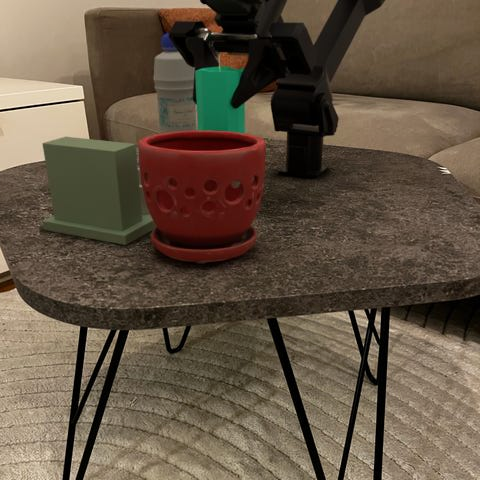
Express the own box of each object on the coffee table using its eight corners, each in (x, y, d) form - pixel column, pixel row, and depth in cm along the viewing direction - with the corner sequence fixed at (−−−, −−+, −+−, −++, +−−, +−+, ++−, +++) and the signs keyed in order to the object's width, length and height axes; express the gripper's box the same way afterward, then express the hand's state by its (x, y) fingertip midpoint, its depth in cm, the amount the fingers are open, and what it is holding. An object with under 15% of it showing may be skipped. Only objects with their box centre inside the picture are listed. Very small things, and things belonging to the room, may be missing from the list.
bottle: (168, 173, 94) (159, 34, 85) (153, 164, 100) (143, 32, 90) (206, 168, 97) (202, 32, 87) (190, 159, 102) (184, 31, 93)
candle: (222, 166, 71) (219, 58, 66) (188, 158, 75) (183, 55, 69) (255, 157, 75) (255, 54, 69) (221, 149, 79) (219, 51, 73)
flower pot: (278, 264, 62) (281, 148, 56) (151, 276, 59) (141, 155, 53) (249, 224, 73) (250, 123, 67) (142, 232, 70) (133, 128, 65)
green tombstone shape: (130, 191, 86) (123, 118, 81) (202, 201, 81) (200, 124, 76) (43, 230, 71) (29, 144, 66) (126, 245, 67) (116, 154, 62)
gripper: (172, -55, 71) (118, 53, 69) (310, -64, 62) (253, 60, 59) (213, 16, 81) (166, 113, 78) (337, 18, 72) (289, 127, 69)
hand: (213, 104), depth 71 cm, fingers closed on candle, 5 cm apart
